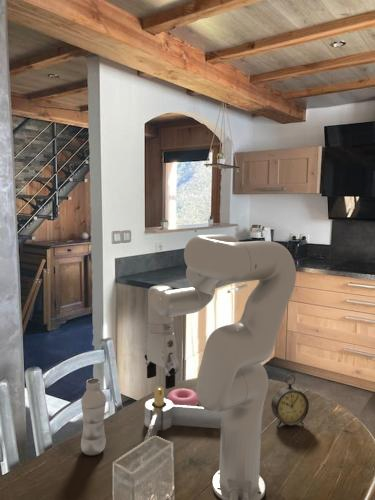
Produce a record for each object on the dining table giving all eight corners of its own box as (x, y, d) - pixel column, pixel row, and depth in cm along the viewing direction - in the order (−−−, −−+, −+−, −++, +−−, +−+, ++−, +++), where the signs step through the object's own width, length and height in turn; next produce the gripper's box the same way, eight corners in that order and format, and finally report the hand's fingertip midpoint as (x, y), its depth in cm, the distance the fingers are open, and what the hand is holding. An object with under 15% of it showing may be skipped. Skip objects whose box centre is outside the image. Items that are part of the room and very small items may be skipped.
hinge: (221, 469, 106) (222, 447, 105) (129, 461, 108) (130, 439, 107) (223, 420, 129) (223, 402, 129) (148, 414, 132) (148, 397, 131)
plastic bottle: (76, 450, 112) (76, 380, 110) (99, 441, 116) (99, 373, 114) (87, 462, 107) (87, 388, 105) (110, 452, 111) (110, 382, 109)
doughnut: (173, 394, 146) (173, 383, 146) (203, 400, 143) (203, 389, 142) (161, 408, 136) (161, 397, 136) (192, 415, 132) (193, 403, 132)
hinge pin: (162, 425, 125) (163, 391, 124) (152, 425, 126) (153, 390, 125) (164, 420, 128) (164, 387, 127) (154, 419, 129) (155, 386, 128)
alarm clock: (275, 431, 124) (278, 379, 122) (268, 421, 129) (270, 372, 128) (308, 427, 127) (311, 376, 125) (299, 418, 132) (302, 369, 130)
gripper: (188, 331, 119) (188, 388, 121) (154, 319, 133) (154, 370, 134) (167, 336, 114) (167, 395, 116) (134, 323, 128) (134, 376, 129)
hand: (160, 382), depth 125 cm, fingers open, 9 cm apart
